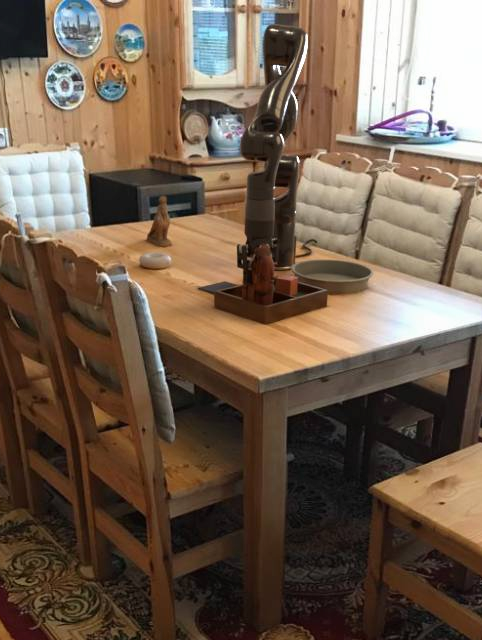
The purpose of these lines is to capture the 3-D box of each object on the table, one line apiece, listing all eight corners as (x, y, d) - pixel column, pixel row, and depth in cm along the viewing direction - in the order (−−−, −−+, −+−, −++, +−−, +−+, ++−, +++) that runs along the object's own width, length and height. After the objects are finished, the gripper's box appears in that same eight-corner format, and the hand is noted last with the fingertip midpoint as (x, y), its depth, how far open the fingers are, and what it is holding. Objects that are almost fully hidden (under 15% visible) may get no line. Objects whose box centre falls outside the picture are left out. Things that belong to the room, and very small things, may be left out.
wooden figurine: (234, 306, 221) (235, 238, 212) (255, 303, 224) (256, 236, 215) (257, 318, 213) (259, 248, 204) (277, 315, 216) (280, 246, 207)
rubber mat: (225, 282, 242) (225, 281, 242) (251, 290, 236) (251, 289, 236) (197, 289, 235) (197, 287, 235) (224, 297, 229) (224, 295, 228)
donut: (135, 268, 252) (166, 271, 251) (134, 257, 251) (165, 259, 249) (145, 261, 261) (175, 263, 259) (144, 250, 259) (175, 252, 257)
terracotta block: (282, 290, 228) (283, 274, 226) (297, 293, 226) (298, 277, 224) (275, 294, 224) (276, 277, 222) (289, 297, 222) (290, 280, 220)
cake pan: (273, 282, 244) (273, 267, 242) (325, 269, 260) (326, 255, 258) (337, 300, 230) (339, 285, 228) (388, 286, 246) (390, 270, 244)
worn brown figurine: (171, 252, 282) (175, 201, 270) (156, 253, 280) (160, 201, 268) (159, 238, 290) (163, 187, 278) (145, 238, 287) (148, 187, 276)
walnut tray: (276, 291, 236) (276, 275, 234) (327, 306, 225) (328, 289, 223) (213, 307, 220) (214, 290, 218) (265, 324, 209) (266, 307, 207)
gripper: (250, 222, 200) (248, 289, 208) (289, 215, 209) (286, 280, 217) (229, 217, 204) (228, 283, 212) (268, 210, 213) (265, 274, 222)
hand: (257, 281), depth 215 cm, fingers closed on wooden figurine, 6 cm apart
